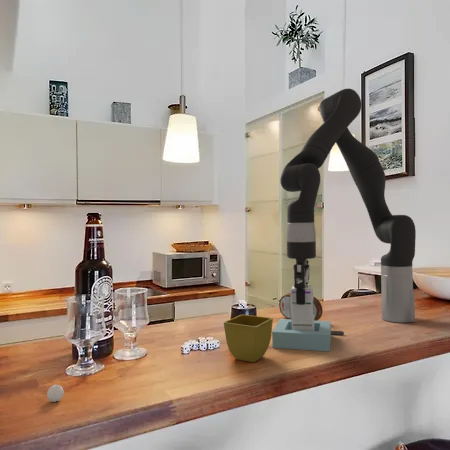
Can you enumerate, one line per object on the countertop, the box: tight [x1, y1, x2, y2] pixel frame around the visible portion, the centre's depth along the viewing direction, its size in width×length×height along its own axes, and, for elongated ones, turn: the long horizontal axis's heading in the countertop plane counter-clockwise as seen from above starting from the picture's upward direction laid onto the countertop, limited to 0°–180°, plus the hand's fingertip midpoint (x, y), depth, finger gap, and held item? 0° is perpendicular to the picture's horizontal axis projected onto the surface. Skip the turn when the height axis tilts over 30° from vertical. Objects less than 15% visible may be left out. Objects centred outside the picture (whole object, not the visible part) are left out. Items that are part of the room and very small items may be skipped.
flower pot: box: [223, 314, 274, 363], centre depth 93 cm, size 9×9×9 cm
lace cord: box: [331, 330, 345, 336], centre depth 113 cm, size 19×1×1 cm, turn 74°
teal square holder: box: [271, 318, 332, 352], centre depth 106 cm, size 14×14×4 cm
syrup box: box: [289, 284, 315, 331], centre depth 105 cm, size 6×6×14 cm
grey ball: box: [46, 384, 65, 403], centre depth 72 cm, size 3×3×3 cm
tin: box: [278, 292, 324, 321], centre depth 128 cm, size 15×3×8 cm, turn 47°
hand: (302, 301), depth 106 cm, fingers open, 8 cm apart
